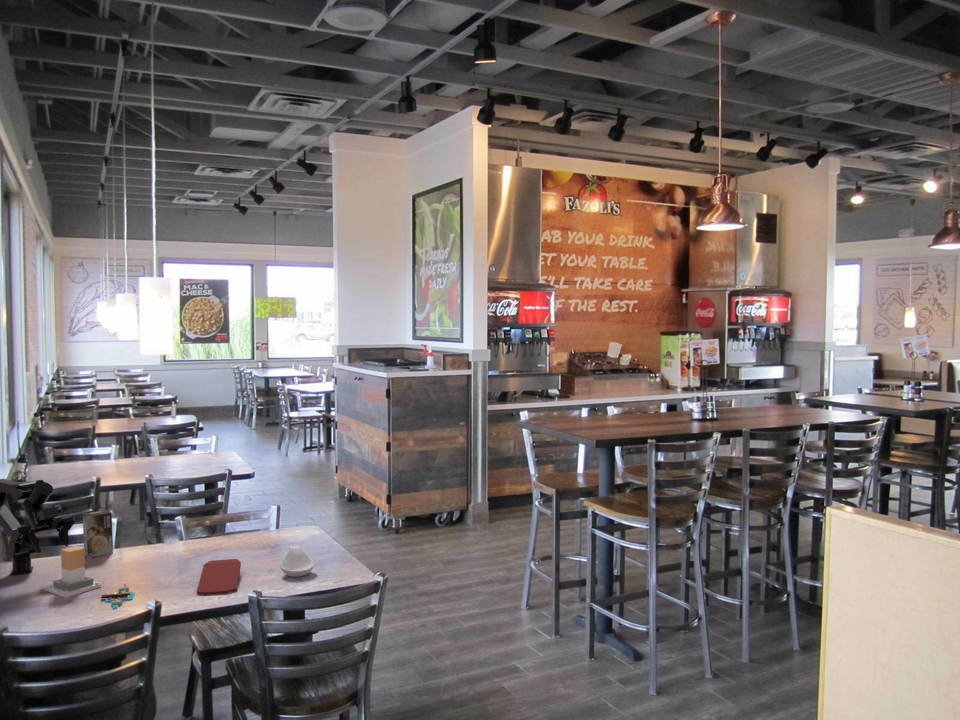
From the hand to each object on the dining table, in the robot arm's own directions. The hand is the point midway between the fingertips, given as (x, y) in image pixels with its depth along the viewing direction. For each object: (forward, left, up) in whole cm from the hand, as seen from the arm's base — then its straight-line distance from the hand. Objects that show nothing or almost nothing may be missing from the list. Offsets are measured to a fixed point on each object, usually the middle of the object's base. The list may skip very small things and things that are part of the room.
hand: (53, 549), depth 252 cm
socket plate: (+10, +6, -11) cm, 17 cm away
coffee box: (-30, +13, -12) cm, 35 cm away
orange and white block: (+10, +6, -10) cm, 16 cm away
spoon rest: (+22, +77, -12) cm, 81 cm away
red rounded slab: (+24, +51, -12) cm, 58 cm away
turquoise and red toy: (+26, +19, -12) cm, 35 cm away
